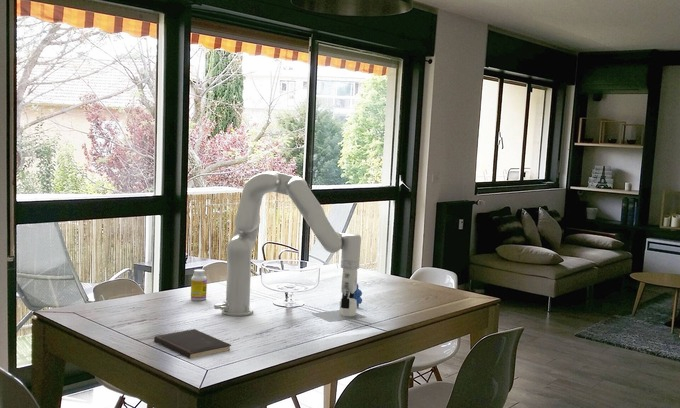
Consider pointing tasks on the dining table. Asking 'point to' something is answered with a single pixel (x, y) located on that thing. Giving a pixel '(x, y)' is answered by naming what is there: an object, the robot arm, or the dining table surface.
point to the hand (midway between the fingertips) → (347, 305)
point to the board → (336, 316)
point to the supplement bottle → (198, 285)
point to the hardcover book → (192, 343)
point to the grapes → (357, 296)
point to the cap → (351, 310)
